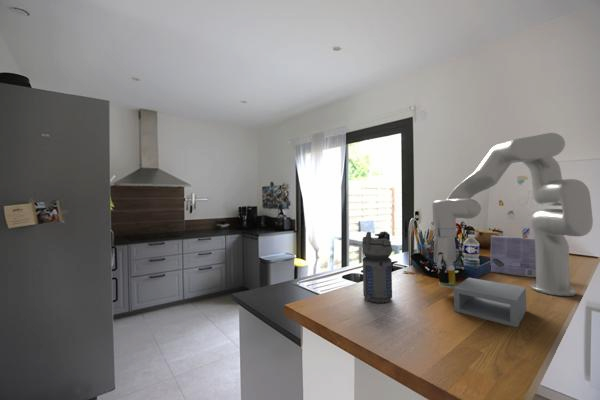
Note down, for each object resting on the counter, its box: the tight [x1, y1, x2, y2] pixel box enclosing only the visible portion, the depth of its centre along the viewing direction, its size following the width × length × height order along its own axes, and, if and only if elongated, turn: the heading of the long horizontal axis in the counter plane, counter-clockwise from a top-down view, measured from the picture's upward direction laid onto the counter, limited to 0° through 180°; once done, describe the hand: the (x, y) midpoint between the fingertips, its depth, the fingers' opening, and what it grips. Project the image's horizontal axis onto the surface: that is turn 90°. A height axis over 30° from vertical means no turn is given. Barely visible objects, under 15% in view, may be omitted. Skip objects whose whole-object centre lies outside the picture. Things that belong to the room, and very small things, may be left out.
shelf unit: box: [453, 277, 527, 328], centre depth 86 cm, size 16×16×8 cm
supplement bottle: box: [438, 262, 457, 289], centre depth 100 cm, size 5×5×10 cm
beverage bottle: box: [361, 231, 393, 304], centre depth 99 cm, size 10×13×25 cm
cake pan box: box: [489, 235, 536, 278], centre depth 126 cm, size 19×5×18 cm, turn 49°
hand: (447, 280), depth 100 cm, fingers closed on supplement bottle, 5 cm apart
